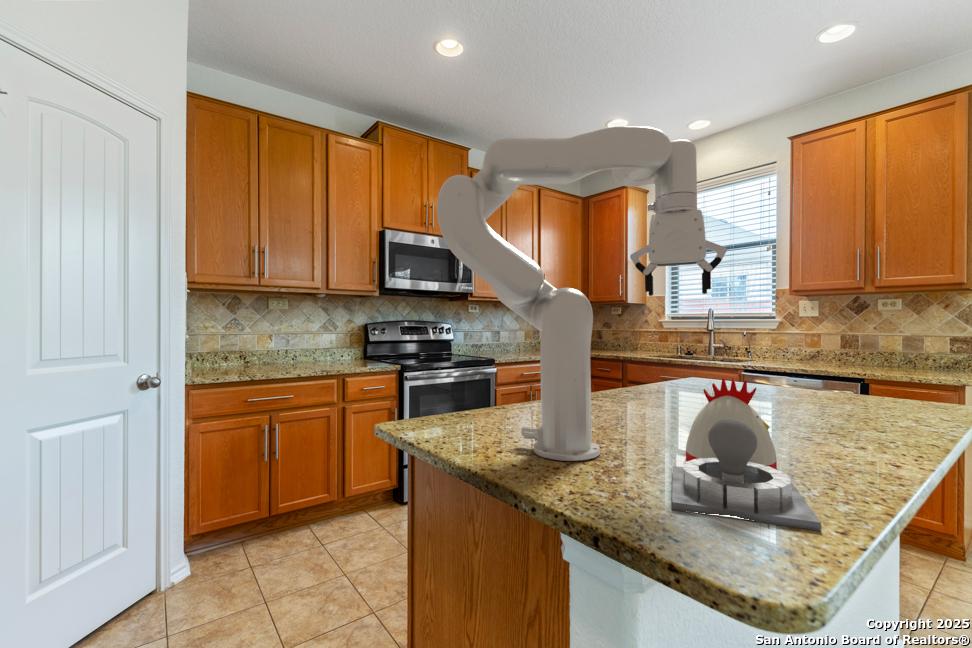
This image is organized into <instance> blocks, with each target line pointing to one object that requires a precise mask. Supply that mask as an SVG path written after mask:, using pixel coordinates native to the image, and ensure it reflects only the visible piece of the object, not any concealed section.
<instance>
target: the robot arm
mask: <svg viewBox="0 0 972 648" xmlns="http://www.w3.org/2000/svg"><path fill="white" fill-rule="evenodd" d="M606 170H611V175H612V177H613V179H614V181H615V182H616V183H617V184H619V185H621V186H623V187H628V188H634V187H640V186H647V185H652V184H653V185H654V193H655V194H654V195H655V196H654V197H655V198H654V201H653V202H652V203H651V204H647V212H652V213H654V214H652V215H651V218H650V222H649V229H648V230H649V231H648V232H649V233H648V244H647V245H645V246H644V247H641V248H640V249H638V250H636V251H635V252H633V253H631V254H630V255H629V256H630V257H629V258H630V260H631V261H632V263H633V265H634V266H635V268H636V269H637V270H638V271H639V272H641V274H642V275H644V289H645V292H648V296H649V297H653V296H654V275H653V272H654V271H655V269H657V268H658V267H672V266H673V267H675V266H691V265H697V266H698V267H699V268H701V269H702V273H701V294H703V295H706V294H707V293H708V290H711V289H712V278H711V276H712V273H711V272H713V270H715V268H717V266H718V265H720V264H721V262H722V260H723V258H724V257H725V255H726V253H727V251H728V248H727V247H725V246H723V245H720V244H717V243H715V242H712V241H710V240H707V239H706V228H705V221H704V220H705V219H704V215H703V210H701V209H698V179H697V178H698V176H697V171H698V170H697V146H696V144H695V143H694V142H693V141H691V140H688V139H676V140H670V138H669V136H668V135H667V134H666V133H665V132H663V131H662V130H661V129H658V128H654V127H651V126H639V125H637V126H633V125H631V126H630V125H629V126H628V125H627V126H625V125H624V126H623V125H622V126H621V125H620V126H613V127H606V128H605V127H604V128H602V129H598V130H593V131H590V132H586V133H581V134H578V135H575V136H572V137H565V138H564V137H562V138H559V137H558V138H555V137H554V138H553V137H552V138H551V137H550V138H548V137H547V138H544V137H542V138H541V137H540V138H539V137H538V138H537V137H536V138H533V137H531V138H530V137H528V138H527V137H505V138H498V139H496V140H494V141H493V142H492V143H490V144H489V146H487V149H486V150H485V154H484V156H483V162H482V167H481V169H480V170H479V171H477V173H476V174H475V175H474V176H473V177H470V176H468V175H464V174H455V175H453V176H450V177H449V178H447V179H446V180H445V181H444V182H443V184H442V185H441V187H440V189H439V192H438V197H437V203H436V217H437V218H436V219H437V223H438V224H437V225H438V226H439V230H440V234H441V235H442V238H443V240H444V242H445V244H446V245H447V247H448V249H449V250H450V251H451V253H452V254H453V255H454V256H455V257H456V259H458V261H460V262H461V263H462V264H463V265H464V266H465V267H467V268H468V269H470V270H471V271H472V272H473V273H474V274H476V276H478V277H479V278H481V279H482V280H483V281H484V282H486V283H487V284H488V285H490V286H491V287H492V290H493V293H494V295H495V296H496V298H497V300H498V301H500V302H501V304H503V305H505V306H506V307H507V308H508V309H509V310H511V311H512V312H514V313H515V314H516V315H517V316H519V317H520V318H521V319H523V320H524V321H526V322H527V323H529V324H530V325H531V326H533V327H534V328H535V329H537V330H538V331H540V332H541V333H540V334H541V335H540V355H539V356H540V357H539V358H540V360H539V362H540V363H539V364H540V365H539V367H540V368H539V369H540V417H541V419H540V421H541V422H540V426H537V428H534V427H529V426H528V427H527V426H522V427H521V431H520V433H521V437H523V439H528V440H534V441H535V443H534V444H533V452H534V453H535V454H536V455H537V456H539V457H542V458H545V459H548V460H554V461H562V462H564V461H565V462H578V461H579V462H580V461H587V460H592V459H595V458H597V457H599V455H600V453H601V448H600V446H599V444H597V443H595V442H593V441H592V387H591V385H592V381H591V380H592V378H591V377H592V376H591V374H592V373H591V347H592V346H591V344H592V335H593V324H594V313H593V312H594V311H593V307H592V304H591V302H590V300H589V299H588V297H587V296H586V294H584V293H583V292H581V291H580V290H579V289H576V288H572V287H561V288H556V287H554V285H552V284H551V283H549V282H548V281H547V280H545V276H544V273H543V270H542V268H541V267H540V265H539V264H538V263H537V262H536V261H535V260H533V259H532V258H530V257H528V256H527V255H526V254H525V253H523V252H521V251H520V250H518V248H516V247H515V246H514V245H512V244H510V243H509V242H508V241H506V240H505V239H504V238H503V237H502V236H501V235H499V234H498V233H497V232H496V231H495V230H493V229H492V227H491V226H490V225H489V224H488V222H487V220H488V218H490V217H491V215H493V214H494V213H495V212H496V211H497V210H498V209H499V208H500V207H502V205H504V203H505V202H507V201H508V199H509V198H510V197H511V196H512V195H513V194H514V193H515V192H516V191H517V190H518V188H519V186H544V185H545V186H565V185H569V184H572V183H575V182H578V181H580V180H582V179H583V178H585V177H588V176H590V175H592V174H595V173H598V172H601V171H602V172H603V171H606ZM707 250H710V251H712V252H715V253H716V255H715V257H714V259H713V260H712V261H710V262H708V261H707V260H706V259H705V258H706V257H707ZM647 254H648V260H649V262H650V263H649V264H648V265H647V266H644V264H642V263H641V261H640V258H641V257H643V256H646V255H647Z"/></svg>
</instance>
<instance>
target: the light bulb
mask: <svg viewBox="0 0 972 648" xmlns="http://www.w3.org/2000/svg"><path fill="white" fill-rule="evenodd" d="M708 439H709V444H710V446H711V448H712V450H713V452H714V453H715V455H716V457H717V459H718V460H719V466H720V469H721V470H722V477H723V478H722V480H726V481H732V482H740V483H744V482H742V481H744V480H743V478H744V473H745V471H746V466H747V463H748V461H749V460H750V458H751V457H752V456H753V454H754V452H755V451H756V448H757V437H756V435H755V433H754V431H753V430H752V428H751V427H750V426H749V425H748V424H746V423H745V422H743V421H741V420H739V419H735V418H725V419H721V420H719V421H717V422H716V423H715V424H714V425H713V426H712V427H711V429H710V431H709V435H708Z"/></svg>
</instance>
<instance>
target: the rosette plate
mask: <svg viewBox="0 0 972 648" xmlns="http://www.w3.org/2000/svg"><path fill="white" fill-rule="evenodd" d="M722 478H723V477H722V470H721V469H720V466H719V460H718V459H717V458H699V459H693V460H690V461H687V460H686V461H685V462H683V466H675V465H673V466H672V486H671V487H672V489H671V491H672V493H671V510H672V511H679V512H685V513H692V512H698V513H705V514H719V515H730V516H737V517H740V518H744V519H749V520H754V521H757V522H756V523H761V522H765V523H764V524H768V523H771V524H770V525H774V524H776V525H775V526H781V527H787V528H788V527H789V528H797V529H804V530H810V531H815V532H816V531H817V532H822V521H820V519H819V518H818V516H817V515H816V514H815V512H814V511H813V510H812V508H811V507H810V505H809V504H808V503H807V501H806V500H805V499H804V496H803V495H802V494H801V493H800V491H799V490H798V489H797V487H796V486H795V485H794V484H793V481H792V479H791V478H790V477H789V475H788V474H787V473H785V472H784V471H781V470H779V469H777V470H776V469H774V468H772V467H769V466H766V465H762V464H757V463H753V462H748V463H747V466H746V471H745V473H744V478H743V480H744V481H742V482H744V483H740V482H732V481H726V480H722ZM686 511H687V512H686ZM698 513H697V514H698ZM705 514H704V515H705ZM754 521H753V522H754Z"/></svg>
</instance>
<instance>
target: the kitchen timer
mask: <svg viewBox="0 0 972 648" xmlns="http://www.w3.org/2000/svg"><path fill="white" fill-rule="evenodd" d="M747 384H748V382H747V379H744V381H743V383H742V386H741V388H740V390H738V388H737V385H736V381H735V379H734V378H732V379H731V385H730V389H728V386H727V383H726V379H725V377H722V378H721V384H720V389H719V388H718V387H717V385H716V384H715V383H712V384H711V387H712V390H713V393H714V394H713V396H712V395H710V394H709V393H708V391H707V390H706V388H704V389H703V393H704V396H705V398H706V400H707V401H708V402H707V403H706V404H705V405H704V406H703V407H702V408H701V409H700V410H699V412H698V413H697V415H696V416H695V418H694V420H693V422H692V425H691V428H690V431H689V434H688V436H687V440H686V444H685V445H686V446H685V460H686V462H687V461H690V460H693V459H699V458H717V457H716V455H715V453H714V452H713V450H712V448H711V446H710V444H709V439H708V435H709V431H710V429H711V427H712V426H713V425H714V424H715V423H716V422H717V421H719V420H721V419H725V418H735V419H739V420H741V421H743V422H745V423H746V424H748V425H749V426H750V427H751V428H752V430H753V431H754V433H755V435H756V437H757V448H756V451H755V452H754V454H753V456H752V457H751V458H750V460H749V461H748V462H753V463H757V464H762V465H766V466H769V467H772V468H774V469H776V470H778V467H777V465H778V464H777V463H778V462H777V460H778V459H777V458H778V457H777V453H776V449H775V445H774V443H773V440H772V437H771V434H770V432H769V429H770V425H769V424H768V423H766V422H765V421H764V420H763V419H762V417H761V416H760V414H759V413H758V412H757V411H756V410H755V408H753V407H752V406H751V405H750V402H751V401H752V399H753V397H754V395H755V393H756V390H757V387H754V388H753V390H752V391H750V392H748V385H747Z"/></svg>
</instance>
